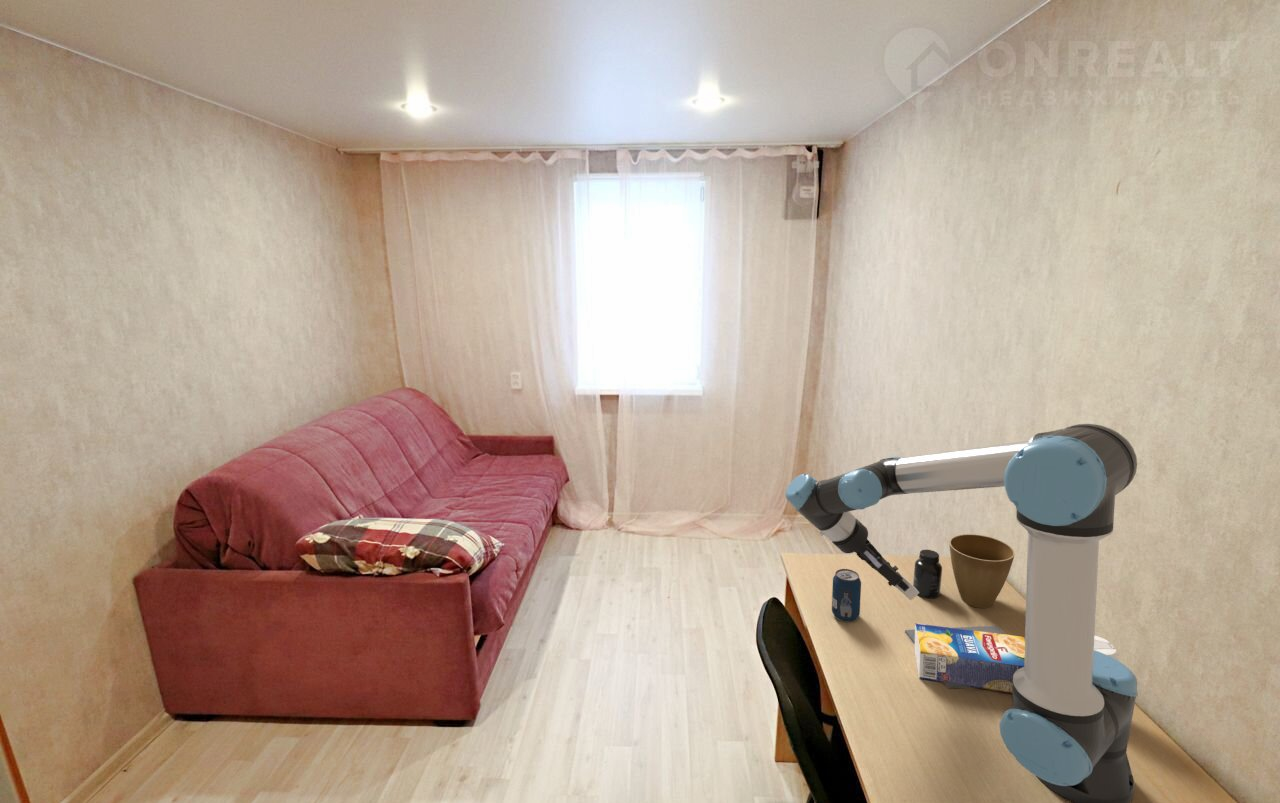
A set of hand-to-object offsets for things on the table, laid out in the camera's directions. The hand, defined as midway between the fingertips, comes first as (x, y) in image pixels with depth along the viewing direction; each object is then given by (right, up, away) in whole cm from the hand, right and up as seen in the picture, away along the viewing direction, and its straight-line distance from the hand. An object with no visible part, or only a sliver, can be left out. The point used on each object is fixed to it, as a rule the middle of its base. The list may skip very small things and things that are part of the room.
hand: (913, 594), depth 130 cm
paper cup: (+29, -18, -12) cm, 37 cm away
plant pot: (+29, -10, +25) cm, 39 cm away
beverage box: (+1, -13, +1) cm, 13 cm away
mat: (+16, -15, +3) cm, 22 cm away
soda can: (-8, -13, +20) cm, 25 cm away
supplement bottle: (+18, -10, +29) cm, 36 cm away
